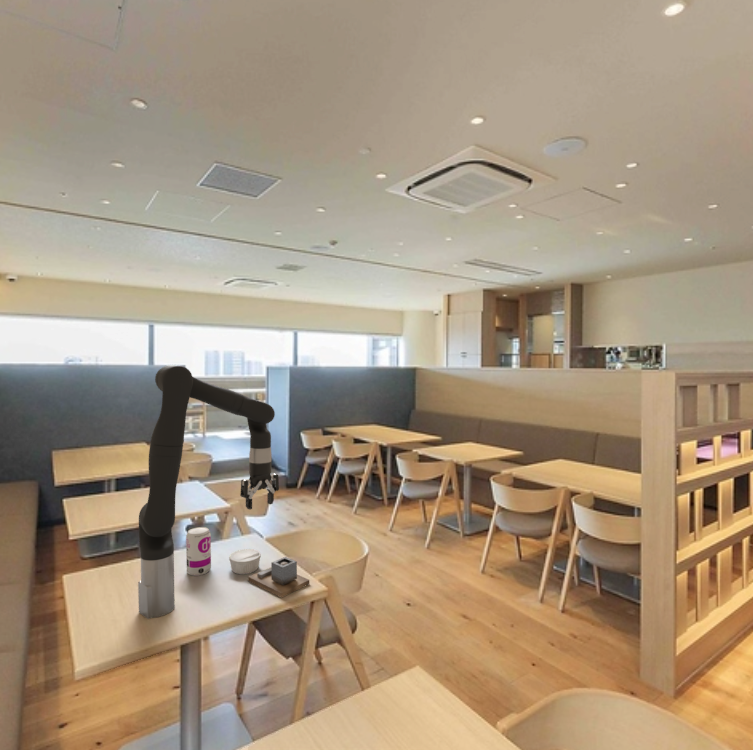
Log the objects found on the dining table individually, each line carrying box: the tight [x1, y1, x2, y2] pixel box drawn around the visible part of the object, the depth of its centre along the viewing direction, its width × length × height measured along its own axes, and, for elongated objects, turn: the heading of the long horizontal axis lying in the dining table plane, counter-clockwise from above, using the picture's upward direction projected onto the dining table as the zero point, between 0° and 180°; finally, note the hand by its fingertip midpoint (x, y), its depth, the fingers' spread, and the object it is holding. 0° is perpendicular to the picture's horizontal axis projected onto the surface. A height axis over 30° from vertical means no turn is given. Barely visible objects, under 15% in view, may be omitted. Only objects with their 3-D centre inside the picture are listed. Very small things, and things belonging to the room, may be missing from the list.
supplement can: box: [185, 526, 212, 577], centre depth 172 cm, size 8×8×15 cm
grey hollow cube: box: [270, 556, 298, 585], centre depth 162 cm, size 6×6×6 cm
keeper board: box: [247, 562, 310, 599], centre depth 164 cm, size 12×18×8 cm, turn 50°
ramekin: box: [228, 548, 261, 575], centre depth 175 cm, size 11×11×5 cm
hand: (260, 506), depth 166 cm, fingers open, 8 cm apart
